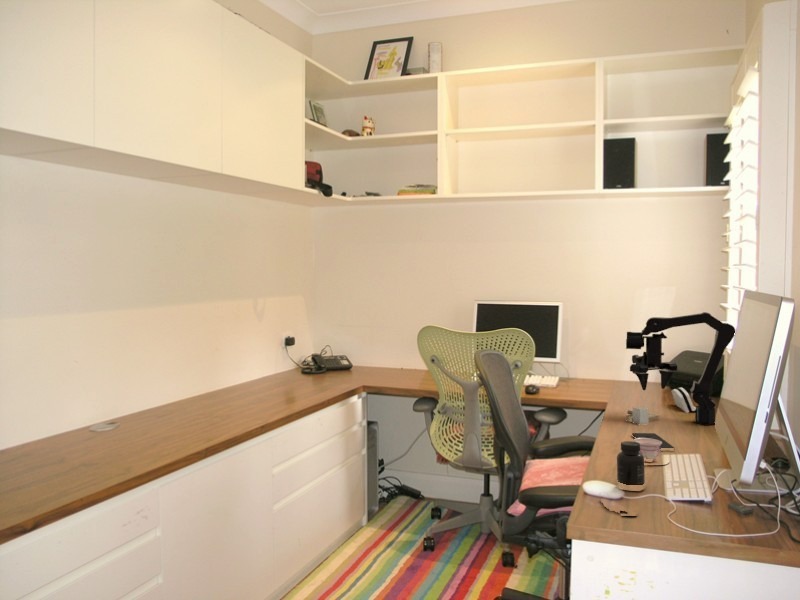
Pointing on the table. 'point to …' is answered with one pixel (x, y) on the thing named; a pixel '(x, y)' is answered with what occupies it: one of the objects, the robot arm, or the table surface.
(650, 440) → the teacup
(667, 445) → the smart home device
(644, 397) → the table surface
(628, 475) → the supplement bottle
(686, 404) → the white rounded piece
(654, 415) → the pine board
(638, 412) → the marking gauge
